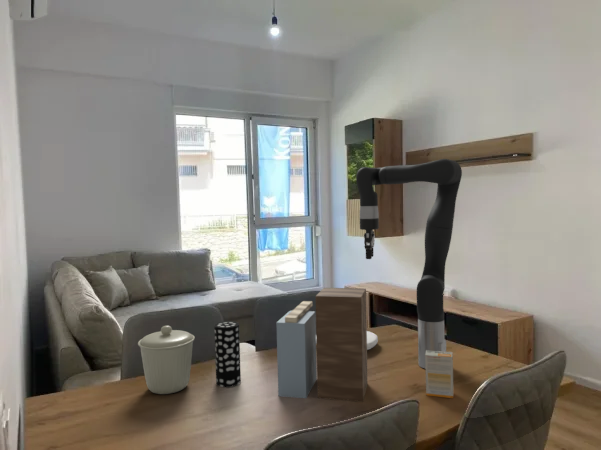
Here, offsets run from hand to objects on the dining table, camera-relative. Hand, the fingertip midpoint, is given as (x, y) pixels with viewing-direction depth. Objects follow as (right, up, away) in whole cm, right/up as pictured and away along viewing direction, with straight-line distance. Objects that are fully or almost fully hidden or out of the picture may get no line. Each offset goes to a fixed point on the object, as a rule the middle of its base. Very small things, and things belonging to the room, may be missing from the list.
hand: (369, 257), depth 182 cm
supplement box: (+16, -40, -41) cm, 59 cm away
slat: (-28, -17, -29) cm, 44 cm away
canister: (-72, -42, -31) cm, 89 cm away
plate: (-8, -38, +9) cm, 40 cm away
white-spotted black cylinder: (-53, -41, -27) cm, 72 cm away
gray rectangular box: (-29, -40, -33) cm, 59 cm away
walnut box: (-14, -40, -36) cm, 56 cm away
